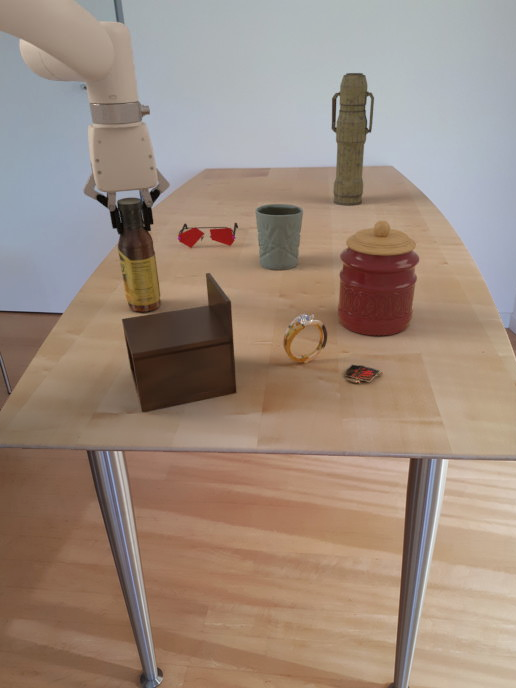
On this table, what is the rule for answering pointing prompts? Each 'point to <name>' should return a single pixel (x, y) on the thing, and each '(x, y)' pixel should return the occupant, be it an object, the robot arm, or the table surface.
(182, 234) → the glasses
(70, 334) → the table surface
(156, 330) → the shelf
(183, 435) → the table surface
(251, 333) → the table surface
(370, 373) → the matchbox
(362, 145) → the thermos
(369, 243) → the kitchen canister
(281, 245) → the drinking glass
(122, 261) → the sauce bottle
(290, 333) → the ring
